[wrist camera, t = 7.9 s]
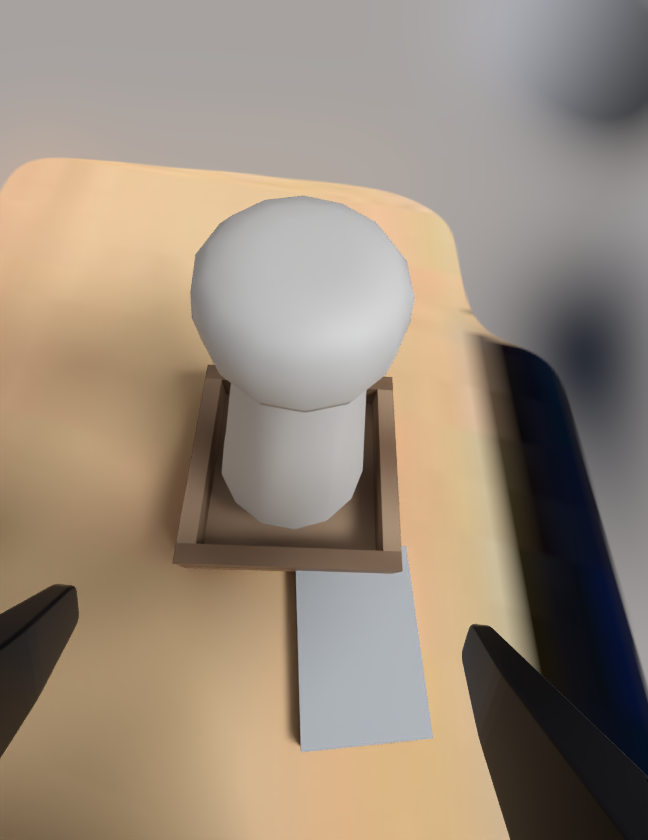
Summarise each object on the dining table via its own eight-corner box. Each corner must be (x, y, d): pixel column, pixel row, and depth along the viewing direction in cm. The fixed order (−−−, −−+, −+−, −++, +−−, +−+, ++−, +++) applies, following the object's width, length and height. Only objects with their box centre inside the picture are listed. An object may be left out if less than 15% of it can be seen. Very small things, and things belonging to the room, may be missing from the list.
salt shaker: (213, 523, 17) (59, 353, 6) (247, 409, 20) (190, 123, 8) (344, 548, 17) (468, 433, 6) (361, 431, 20) (472, 180, 8)
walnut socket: (389, 574, 18) (402, 571, 16) (186, 567, 17) (172, 563, 15) (381, 398, 22) (392, 377, 19) (215, 388, 21) (207, 364, 19)
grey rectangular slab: (428, 733, 15) (433, 738, 15) (300, 746, 15) (301, 752, 14) (402, 547, 18) (405, 545, 18) (295, 553, 18) (295, 551, 17)
